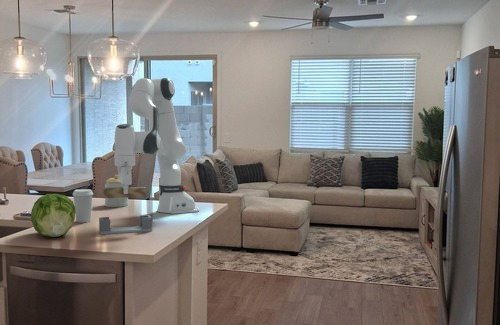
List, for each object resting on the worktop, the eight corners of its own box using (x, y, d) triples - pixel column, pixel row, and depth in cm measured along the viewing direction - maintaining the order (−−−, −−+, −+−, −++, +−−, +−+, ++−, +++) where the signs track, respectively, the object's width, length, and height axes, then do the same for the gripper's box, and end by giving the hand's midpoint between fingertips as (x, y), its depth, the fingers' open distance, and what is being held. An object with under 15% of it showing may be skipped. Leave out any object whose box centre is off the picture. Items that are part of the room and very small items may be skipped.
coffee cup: (74, 224, 235) (73, 192, 234) (71, 220, 244) (70, 189, 243) (95, 222, 240) (95, 191, 239) (91, 218, 248) (91, 188, 247)
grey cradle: (149, 227, 229) (149, 214, 229) (152, 231, 223) (152, 217, 222) (99, 230, 222) (99, 217, 221) (100, 234, 215) (99, 220, 215)
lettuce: (28, 224, 195) (69, 195, 201) (16, 205, 213) (55, 179, 219) (54, 256, 204) (93, 227, 210) (41, 235, 222) (77, 209, 229)
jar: (133, 205, 289) (133, 174, 287) (116, 208, 278) (115, 176, 276) (117, 202, 296) (117, 172, 294) (99, 205, 285) (99, 174, 283)
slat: (145, 195, 225) (145, 187, 225) (146, 196, 223) (146, 187, 222) (103, 197, 219) (103, 188, 219) (103, 198, 217) (103, 189, 216)
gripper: (135, 163, 211) (135, 196, 212) (129, 159, 230) (129, 189, 231) (119, 163, 209) (119, 196, 210) (115, 159, 228) (115, 190, 229)
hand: (125, 193), depth 221 cm, fingers closed on slat, 3 cm apart
